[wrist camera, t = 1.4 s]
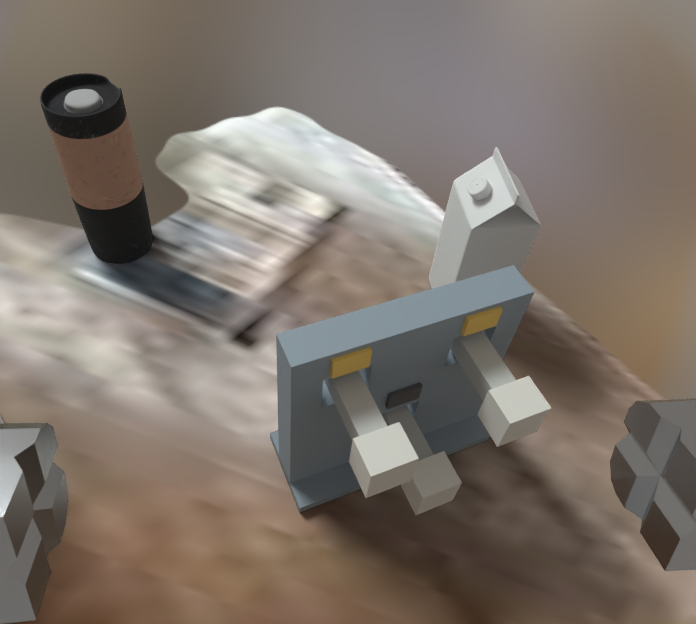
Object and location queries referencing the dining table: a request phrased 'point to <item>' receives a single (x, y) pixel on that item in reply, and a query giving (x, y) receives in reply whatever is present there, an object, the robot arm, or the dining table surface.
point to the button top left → (371, 437)
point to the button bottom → (425, 467)
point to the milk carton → (484, 224)
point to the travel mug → (99, 164)
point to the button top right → (500, 390)
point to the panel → (388, 375)
